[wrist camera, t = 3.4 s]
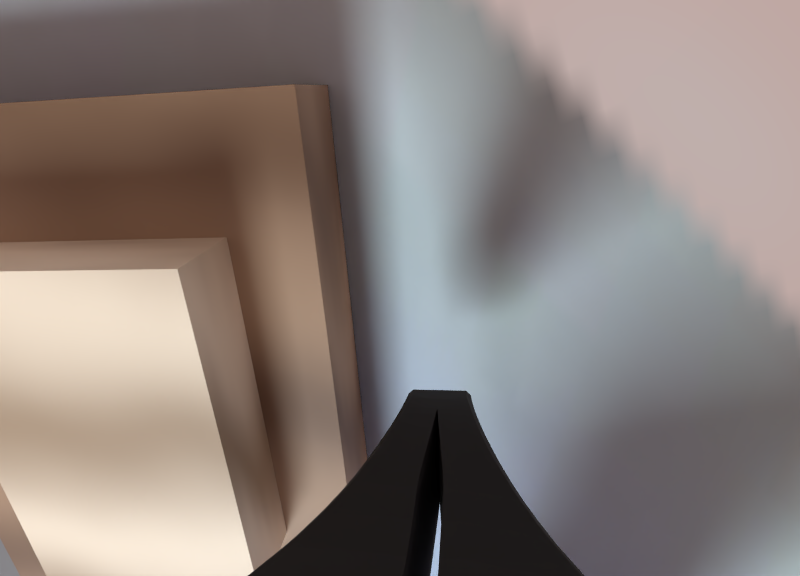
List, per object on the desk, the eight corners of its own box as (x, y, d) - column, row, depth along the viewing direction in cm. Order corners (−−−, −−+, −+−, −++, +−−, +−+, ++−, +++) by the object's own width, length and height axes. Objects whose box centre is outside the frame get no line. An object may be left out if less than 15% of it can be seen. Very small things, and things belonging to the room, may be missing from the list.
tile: (286, 531, 14) (261, 599, 12) (100, 520, 15) (49, 582, 13) (226, 237, 10) (177, 268, 9) (-13, 242, 11) (-105, 273, 9)
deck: (377, 555, 17) (365, 625, 15) (82, 536, 19) (31, 597, 17) (327, 85, 11) (294, 84, 9) (-102, 112, 13) (-223, 117, 11)
